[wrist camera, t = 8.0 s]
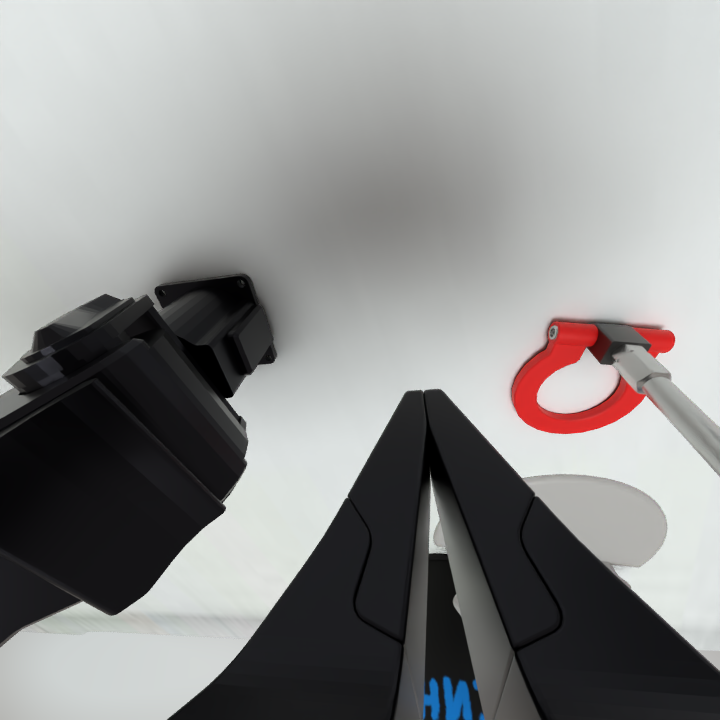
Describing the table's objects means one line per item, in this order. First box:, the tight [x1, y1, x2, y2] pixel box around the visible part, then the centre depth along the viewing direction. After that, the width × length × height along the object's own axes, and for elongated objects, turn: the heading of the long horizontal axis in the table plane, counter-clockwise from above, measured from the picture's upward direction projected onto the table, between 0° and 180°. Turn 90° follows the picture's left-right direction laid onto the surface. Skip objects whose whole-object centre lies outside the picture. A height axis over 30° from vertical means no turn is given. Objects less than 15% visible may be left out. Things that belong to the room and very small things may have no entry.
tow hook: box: [512, 321, 720, 476], centre depth 17 cm, size 8×13×9 cm
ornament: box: [434, 474, 667, 615], centre depth 24 cm, size 22×13×17 cm, turn 88°
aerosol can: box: [423, 554, 485, 720], centre depth 31 cm, size 8×8×20 cm
